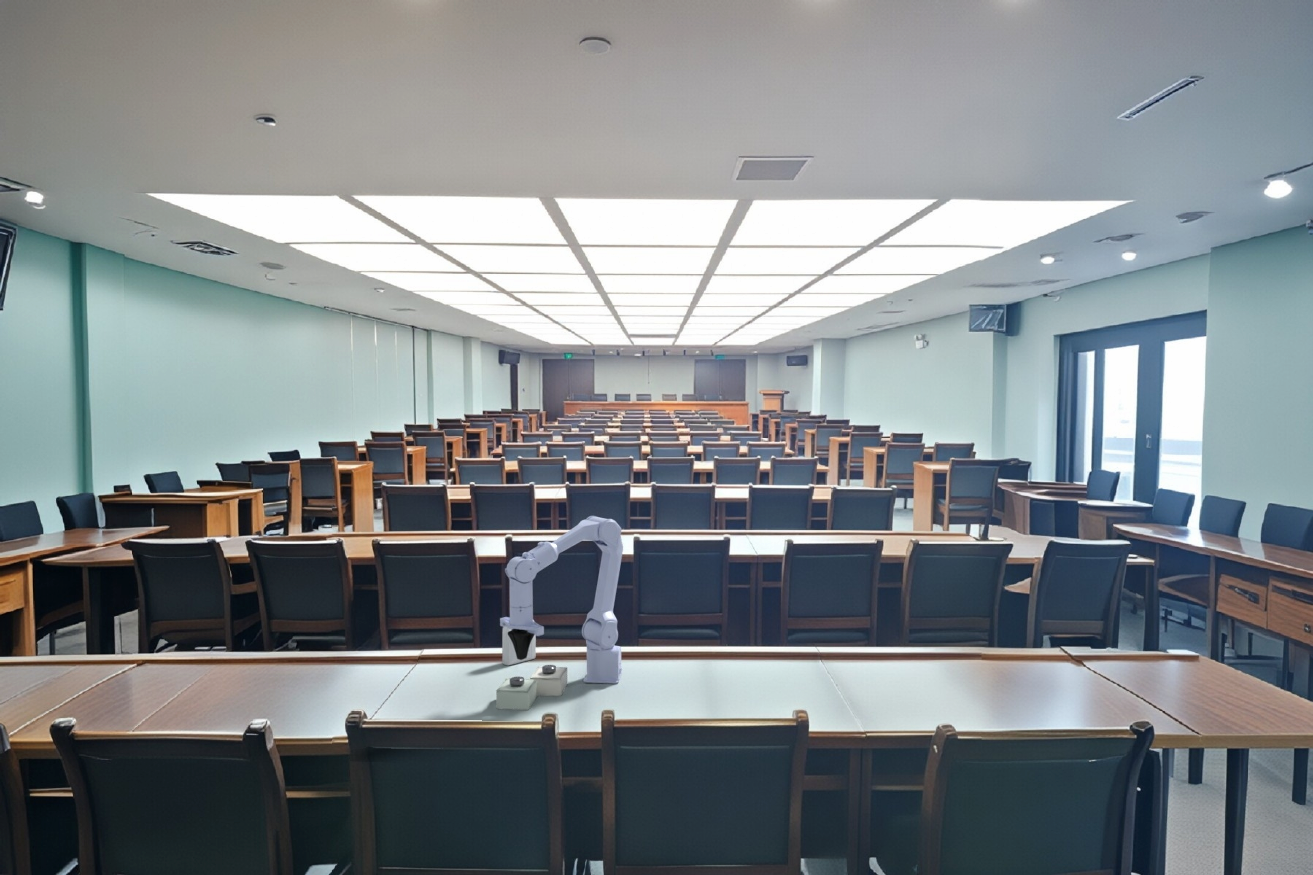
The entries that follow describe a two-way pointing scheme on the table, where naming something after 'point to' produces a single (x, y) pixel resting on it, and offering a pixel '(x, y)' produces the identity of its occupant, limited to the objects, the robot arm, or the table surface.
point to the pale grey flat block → (516, 695)
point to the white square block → (550, 681)
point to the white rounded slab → (509, 651)
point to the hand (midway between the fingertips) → (521, 658)
